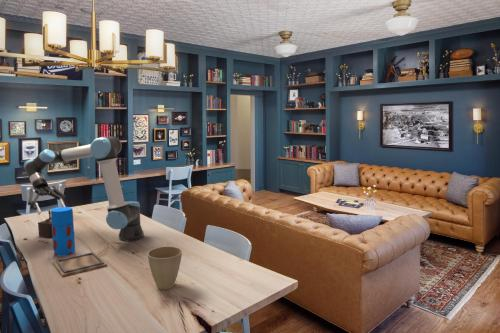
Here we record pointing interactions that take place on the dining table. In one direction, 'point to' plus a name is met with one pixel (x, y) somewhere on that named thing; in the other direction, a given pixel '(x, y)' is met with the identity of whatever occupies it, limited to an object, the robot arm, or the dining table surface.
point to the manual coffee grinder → (46, 227)
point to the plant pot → (164, 265)
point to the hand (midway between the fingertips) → (52, 211)
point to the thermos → (63, 231)
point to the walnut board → (79, 264)
